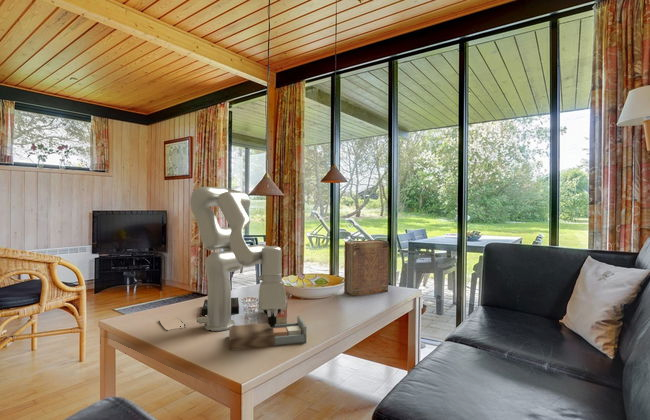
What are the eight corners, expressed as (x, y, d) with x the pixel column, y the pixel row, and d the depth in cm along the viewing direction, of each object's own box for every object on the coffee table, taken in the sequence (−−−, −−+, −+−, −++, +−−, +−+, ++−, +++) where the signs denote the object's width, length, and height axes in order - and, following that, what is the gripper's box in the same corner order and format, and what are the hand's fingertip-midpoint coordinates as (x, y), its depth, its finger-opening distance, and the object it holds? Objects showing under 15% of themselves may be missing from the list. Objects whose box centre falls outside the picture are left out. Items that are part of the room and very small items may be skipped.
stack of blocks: (287, 323, 156) (287, 295, 156) (272, 324, 154) (272, 296, 154) (279, 309, 177) (279, 284, 176) (266, 310, 175) (266, 285, 175)
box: (274, 345, 131) (274, 329, 131) (270, 332, 145) (270, 317, 145) (306, 342, 134) (306, 326, 134) (299, 329, 148) (299, 315, 148)
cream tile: (301, 329, 138) (301, 337, 138) (298, 325, 143) (298, 333, 143) (288, 331, 137) (288, 338, 137) (286, 326, 142) (286, 334, 142)
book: (352, 296, 201) (352, 243, 200) (344, 293, 209) (344, 241, 209) (388, 291, 213) (388, 241, 213) (378, 288, 221) (379, 239, 221)
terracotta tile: (273, 340, 135) (273, 332, 135) (273, 335, 140) (273, 328, 140) (286, 339, 136) (286, 331, 136) (285, 334, 141) (285, 327, 141)
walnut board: (229, 350, 127) (229, 339, 127) (229, 336, 141) (229, 326, 141) (274, 345, 131) (274, 335, 131) (270, 332, 145) (270, 322, 145)
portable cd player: (203, 307, 181) (203, 299, 181) (238, 305, 185) (238, 297, 185) (201, 317, 165) (200, 308, 165) (238, 314, 170) (238, 306, 170)
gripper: (252, 281, 132) (253, 331, 132) (292, 279, 136) (292, 327, 136) (251, 277, 139) (251, 324, 140) (289, 275, 143) (289, 321, 143)
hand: (272, 325), depth 138 cm, fingers closed
